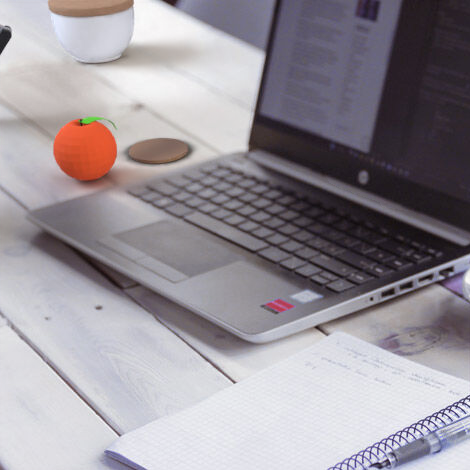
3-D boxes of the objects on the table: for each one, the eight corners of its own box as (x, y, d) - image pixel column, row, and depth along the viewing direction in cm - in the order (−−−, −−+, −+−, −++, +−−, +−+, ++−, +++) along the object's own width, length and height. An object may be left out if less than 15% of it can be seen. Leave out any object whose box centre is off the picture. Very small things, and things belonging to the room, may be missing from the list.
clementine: (102, 157, 113) (95, 101, 110) (140, 173, 109) (133, 114, 106) (45, 179, 108) (35, 120, 104) (83, 196, 104) (73, 135, 100)
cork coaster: (120, 161, 112) (120, 158, 112) (141, 139, 118) (140, 136, 118) (177, 165, 111) (177, 162, 111) (195, 142, 117) (195, 139, 117)
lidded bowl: (146, 63, 145) (139, -10, 140) (62, 73, 141) (50, -2, 136) (131, 41, 156) (123, -28, 150) (51, 49, 151) (41, -21, 146)
